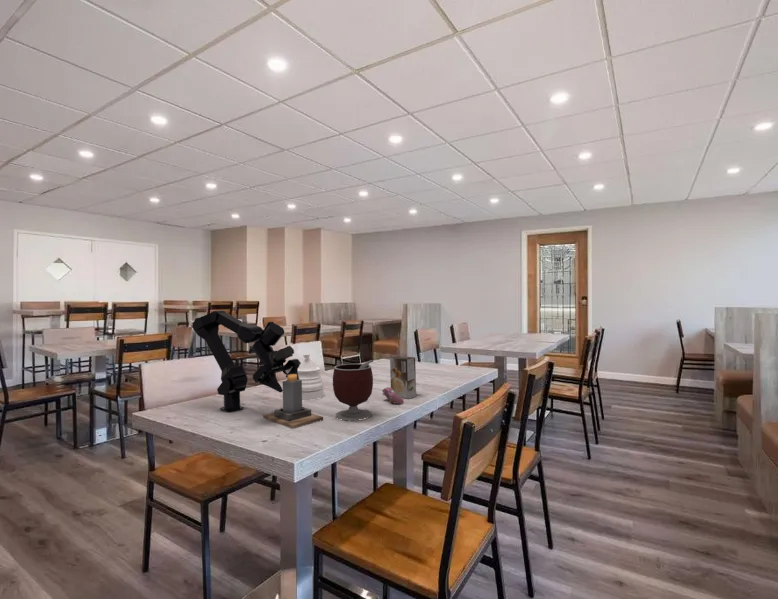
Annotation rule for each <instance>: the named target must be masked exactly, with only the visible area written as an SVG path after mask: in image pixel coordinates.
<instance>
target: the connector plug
mask: <svg viewBox="0 0 778 599" xmlns="http://www.w3.org/2000/svg"><path fill="white" fill-rule="evenodd" d="M286 378H287V379H285V380H283V381H282V390H283V391H282V408H283V412H286V413H289V414H291V413H295V412H299V411H302V407H303V401H302V380H297V374H288V375H287V377H286Z"/></svg>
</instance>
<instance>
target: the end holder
mask: <svg viewBox="0 0 778 599" xmlns="http://www.w3.org/2000/svg"><path fill="white" fill-rule="evenodd" d="M262 418H263V419H265V418H266V420H268V421H271V422H273V423H277V424H278V425H282V426H285V427H288V428H290V429H296V427H297V428H299V426H300V427H304V426H306V424H307V425H310V423H311V424H313V422H314V423H317V422H316V421H318V422H320V420H321V421H324V417H323V416H322V415H319V414H315V413H312V409H311V408H307V407H303V406H302V411H299V412H295V413H291V414H289V413H286V412H283V407H282V408H279V409H274V410H273V412H270V413H265V414H262ZM303 425H304V426H303Z"/></svg>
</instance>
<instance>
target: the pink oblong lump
mask: <svg viewBox="0 0 778 599" xmlns="http://www.w3.org/2000/svg"><path fill="white" fill-rule="evenodd" d="M382 396H385V397H386V399H387V400H388V402H390V403H392V404H394V403H395V404H399V405H403V404H404V403H405V402H404V398H401V397H400V396H398V395H397V394H396V392H395V391H394V390H393V389H392V388H391V386H389V387H384V388H382Z"/></svg>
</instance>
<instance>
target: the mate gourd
mask: <svg viewBox="0 0 778 599" xmlns="http://www.w3.org/2000/svg"><path fill="white" fill-rule="evenodd" d="M371 363H374V360H373V359H370V360H368V361H366V362H364V363H345V364H344V363H342V364H338V365H335V366H334V367H333V373H332V388H333V394H334V397H336V398H335V399H337V401H338V402H340V403H341V404H345V405H347V406H348V409H344V410H341V411H338V412H336V413H335V418H336V419H337V418H338V419H337V420H339V419H342V420H341V421H343V420H359V419H364V418H367V417H370V416H372V412H371V411H369V410H366V409H361V408H359V407H358V406H359V405H361V404H364V403H365V402H367V401H368V400H369V398H371V395H372V393H373V387H374V375H373V371H372V370H373V369H372V366H371V365H370V364H371ZM370 418H371V417H370Z"/></svg>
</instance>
